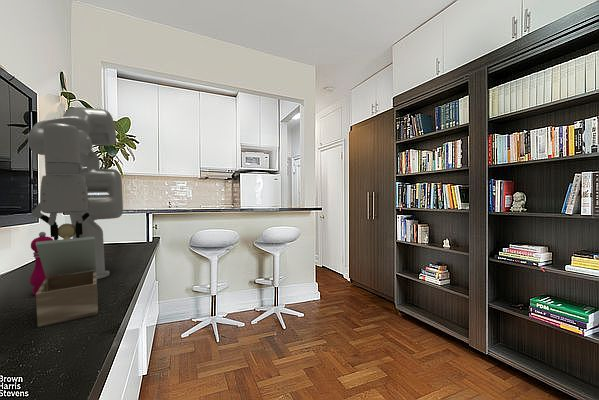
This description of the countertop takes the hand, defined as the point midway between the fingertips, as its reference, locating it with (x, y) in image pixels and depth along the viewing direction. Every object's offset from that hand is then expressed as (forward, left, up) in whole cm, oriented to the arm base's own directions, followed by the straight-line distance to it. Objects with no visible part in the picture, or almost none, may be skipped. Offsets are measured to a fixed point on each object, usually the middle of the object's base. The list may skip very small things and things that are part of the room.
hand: (67, 237), depth 81 cm
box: (-1, 0, -20) cm, 20 cm away
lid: (-3, 0, -6) cm, 7 cm away
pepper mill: (-26, -8, -20) cm, 34 cm away
